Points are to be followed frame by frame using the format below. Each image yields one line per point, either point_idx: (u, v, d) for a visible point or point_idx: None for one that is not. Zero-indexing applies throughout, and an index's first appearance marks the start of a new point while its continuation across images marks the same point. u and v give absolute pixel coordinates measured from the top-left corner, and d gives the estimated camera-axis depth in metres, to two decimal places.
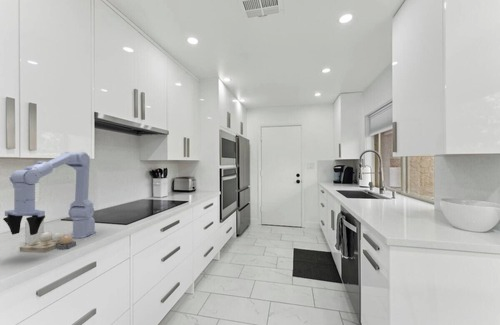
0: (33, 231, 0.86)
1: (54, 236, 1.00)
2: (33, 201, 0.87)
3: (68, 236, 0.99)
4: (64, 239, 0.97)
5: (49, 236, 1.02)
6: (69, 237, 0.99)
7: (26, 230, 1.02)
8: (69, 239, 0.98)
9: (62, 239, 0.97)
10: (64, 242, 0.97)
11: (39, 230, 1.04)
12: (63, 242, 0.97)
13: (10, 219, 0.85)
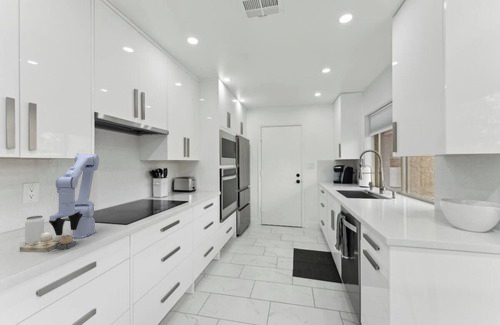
0: (56, 232, 0.95)
1: (54, 236, 1.00)
2: (63, 205, 0.96)
3: (68, 236, 0.99)
4: (64, 239, 0.97)
5: (49, 236, 1.02)
6: (69, 237, 0.99)
7: (26, 230, 1.02)
8: (69, 239, 0.98)
9: (62, 239, 0.97)
10: (64, 242, 0.97)
11: (39, 230, 1.04)
12: (63, 242, 0.97)
13: (69, 216, 1.03)
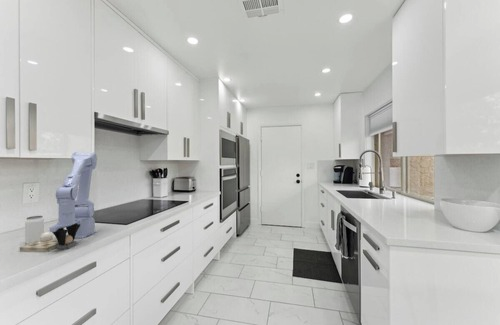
0: (59, 242, 0.96)
1: (54, 236, 1.00)
2: (63, 216, 0.97)
3: (68, 236, 0.99)
4: None
5: (49, 236, 1.02)
6: (69, 237, 0.99)
7: (26, 230, 1.02)
8: (69, 239, 0.98)
9: None
10: None
11: (39, 230, 1.04)
12: None
13: (67, 227, 1.02)
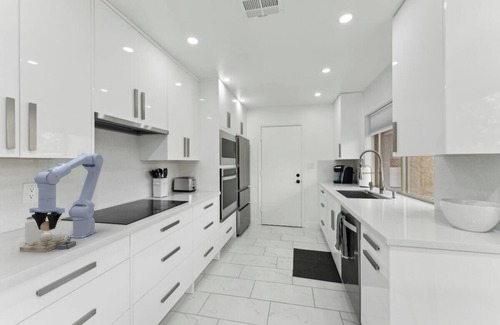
0: (52, 226, 0.96)
1: (54, 236, 1.00)
2: (54, 199, 0.97)
3: None
4: None
5: (49, 236, 1.02)
6: None
7: (26, 230, 1.02)
8: None
9: None
10: None
11: (39, 230, 1.04)
12: None
13: (37, 216, 0.95)
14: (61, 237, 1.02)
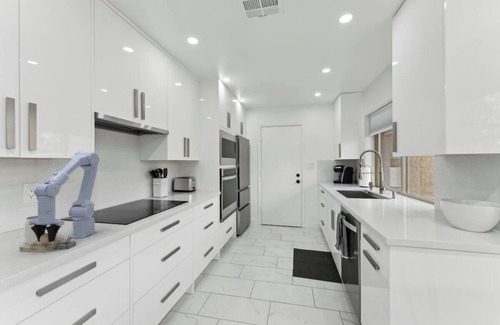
0: (51, 238, 0.96)
1: None
2: (54, 212, 0.97)
3: None
4: None
5: None
6: None
7: (26, 230, 1.02)
8: None
9: None
10: None
11: None
12: None
13: (37, 228, 0.95)
14: (61, 237, 1.02)
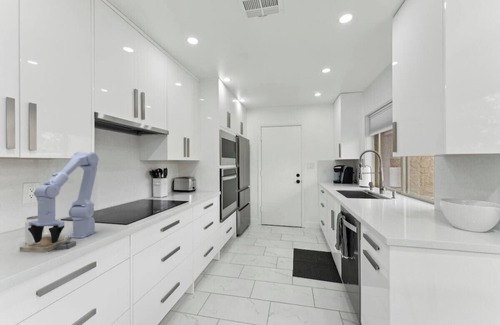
0: (54, 240, 0.96)
1: None
2: (54, 213, 0.97)
3: (49, 236, 0.98)
4: None
5: None
6: None
7: (26, 230, 1.02)
8: None
9: (50, 239, 0.96)
10: None
11: None
12: (51, 242, 0.97)
13: (34, 229, 0.95)
14: (61, 237, 1.02)
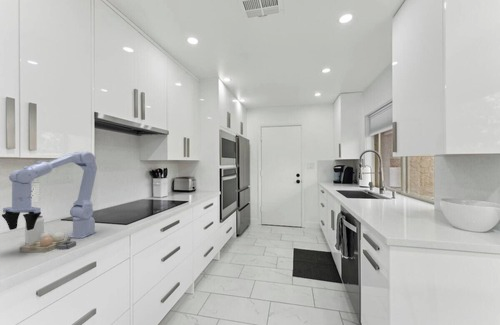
0: (29, 227, 0.92)
1: (54, 236, 1.00)
2: (29, 199, 0.93)
3: (49, 236, 0.98)
4: (51, 238, 0.97)
5: None
6: None
7: (26, 230, 1.02)
8: None
9: (50, 239, 0.96)
10: (52, 241, 0.97)
11: (39, 230, 1.04)
12: (51, 242, 0.97)
13: (8, 215, 0.91)
14: (61, 237, 1.02)
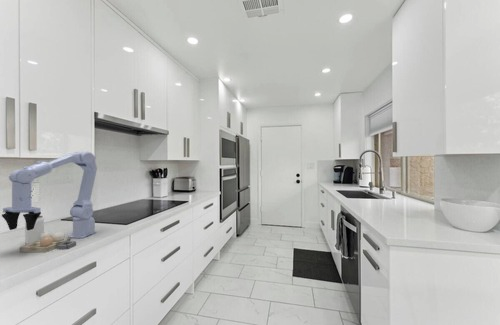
0: (29, 227, 0.92)
1: (54, 236, 1.00)
2: (29, 199, 0.93)
3: (49, 236, 0.98)
4: (51, 238, 0.97)
5: None
6: None
7: (26, 230, 1.02)
8: None
9: (50, 239, 0.96)
10: (52, 241, 0.97)
11: (39, 230, 1.04)
12: (51, 242, 0.97)
13: (8, 215, 0.91)
14: (61, 237, 1.02)
